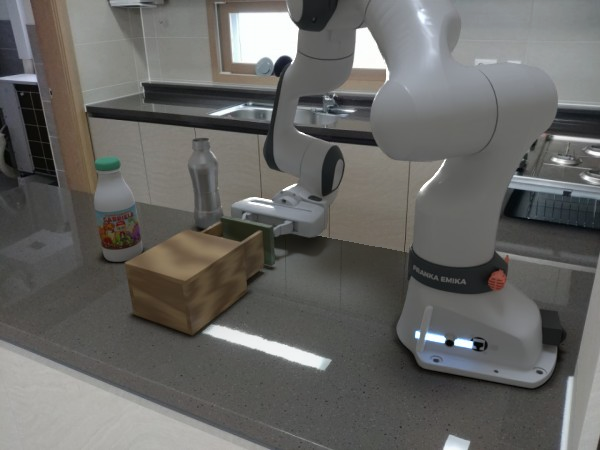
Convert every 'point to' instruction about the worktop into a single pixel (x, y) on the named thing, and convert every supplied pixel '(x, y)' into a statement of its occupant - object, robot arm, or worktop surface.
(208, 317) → the cabinet
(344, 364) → the worktop surface
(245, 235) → the drawer
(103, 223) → the milk bottle
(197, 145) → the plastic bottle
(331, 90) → the robot arm
